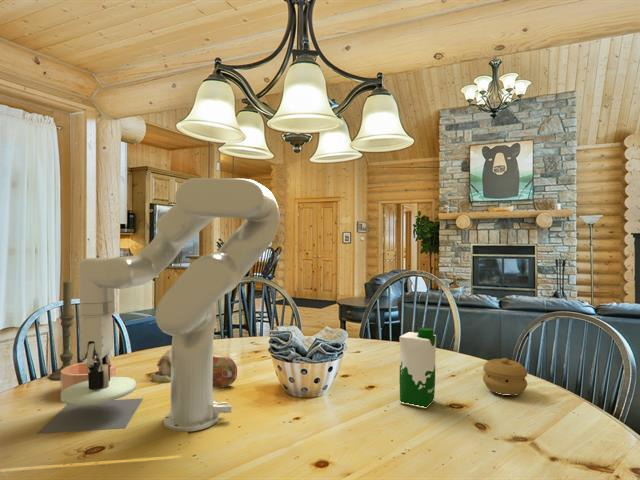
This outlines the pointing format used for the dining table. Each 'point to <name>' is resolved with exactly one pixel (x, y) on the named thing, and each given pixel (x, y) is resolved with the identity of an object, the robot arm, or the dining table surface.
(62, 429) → the mat
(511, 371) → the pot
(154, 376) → the ceramic model
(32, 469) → the dining table surface
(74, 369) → the bowl
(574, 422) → the dining table surface
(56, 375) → the candlestick holder
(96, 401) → the lid
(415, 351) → the milk carton
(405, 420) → the dining table surface
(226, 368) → the tin
